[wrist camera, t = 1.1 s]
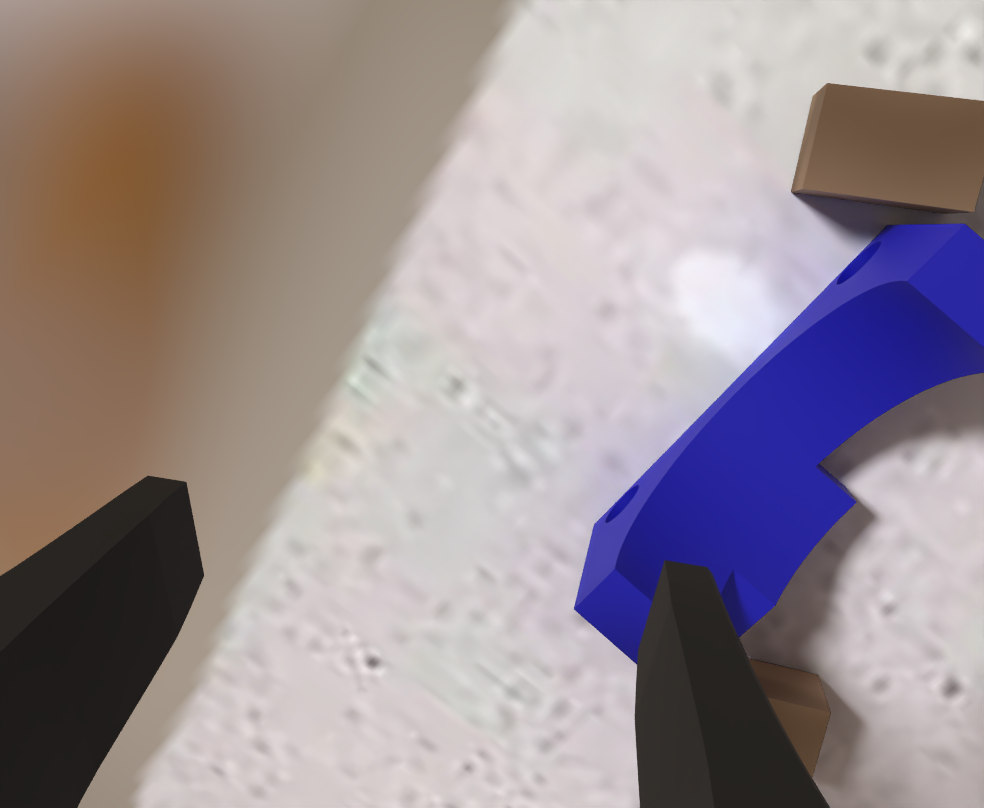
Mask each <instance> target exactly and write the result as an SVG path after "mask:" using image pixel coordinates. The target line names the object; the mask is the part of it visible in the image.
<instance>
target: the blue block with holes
mask: <svg viewBox="0 0 984 808" xmlns="http://www.w3.org/2000/svg"><path fill="white" fill-rule="evenodd" d="M978 373H984V240H983V239H982V238H981V237H980V236H979V235H977V234H976V233H975V232H974V231H973V230H972V229H970V228H969V227H968V226H967V225H966V224H915V225H887V226H886V227H885V228H884V229H883V230H882V231H881V232H880V233H879V234H878V235H877V236H876V237H875V238H874V239H873V240H872V241H871V243H870V244H869V245H868V246H867V247H866V248H865V249H864V250H863V251H862V252H861V253H860V254H859V255H858V256H857V257H856V258H855V259H854V260H853V261H852V262H851V263H850V264H849V265H848V266H847V267H846V268H845V269H844V270H843V271H842V272H841V273H840V274H839V275H838V276H837V277H836V278H835V279H834V280H833V281H832V282H831V283H830V284H829V285H828V286H827V287H826V288H825V289H824V291H823V292H822V293H821V294H820V295H819V296H818V297H817V298H816V299H815V300H814V301H813V302H812V303H811V304H810V305H809V306H808V307H807V308H806V309H805V310H804V311H803V312H802V313H801V314H800V315H799V316H798V317H797V318H796V319H795V320H794V321H793V322H792V323H791V324H790V325H789V326H788V327H787V328H786V329H785V330H784V331H783V332H782V333H781V334H780V335H779V336H778V337H777V338H776V340H775V341H774V342H773V343H772V344H771V345H770V346H769V347H768V348H767V349H766V350H765V351H764V352H763V353H762V354H761V355H760V356H759V357H758V358H757V359H756V360H755V361H754V362H753V363H752V364H751V365H750V366H749V367H748V368H747V369H746V370H745V371H744V372H743V373H742V374H741V375H740V376H739V377H738V378H737V379H736V380H735V381H734V382H733V383H732V384H731V385H730V386H729V388H728V389H727V390H726V391H725V392H724V393H723V394H722V395H721V396H720V397H719V398H718V399H717V400H716V401H715V402H714V403H713V404H712V405H711V406H710V407H709V408H708V409H707V410H706V411H705V412H704V413H703V414H702V415H701V416H700V417H699V418H698V419H697V420H696V421H695V422H694V423H693V424H692V425H691V426H690V427H689V428H688V429H687V430H686V431H685V432H684V433H683V434H682V436H681V437H680V438H679V439H678V440H677V441H676V442H675V443H674V444H673V445H672V446H671V447H670V448H669V449H668V450H667V451H666V452H665V453H664V454H663V455H662V456H661V457H660V458H659V459H658V460H657V461H656V462H655V463H654V464H653V465H652V466H651V467H650V468H649V469H648V470H647V471H646V472H645V473H644V474H643V475H642V476H641V477H640V478H639V479H638V480H637V481H636V482H635V484H634V485H633V486H632V487H631V488H630V489H629V490H628V491H627V492H626V493H625V494H624V495H623V496H622V497H621V498H620V499H619V500H618V501H617V502H616V503H615V504H614V505H613V506H612V507H611V508H610V509H609V510H608V511H607V512H606V513H605V514H604V515H603V516H602V517H601V518H600V519H599V520H598V521H597V522H596V523H595V524H594V527H593V531H592V536H591V540H590V544H589V548H588V552H587V556H586V561H585V565H584V569H583V573H582V577H581V581H580V586H579V590H578V594H577V598H576V602H575V606H574V610H575V611H577V612H578V613H579V614H580V615H581V616H582V617H583V618H585V619H586V620H587V621H588V622H589V623H590V624H591V625H593V626H594V627H595V628H596V629H597V630H598V631H599V632H600V633H602V634H603V635H604V636H605V637H606V638H607V639H608V640H610V641H611V642H612V643H613V644H614V645H615V646H616V647H618V648H619V649H620V650H621V651H622V652H623V653H624V654H625V655H627V656H628V657H629V658H630V659H631V660H632V661H633V662H635V663H636V664H637V661H638V649H639V645H640V642H641V638H642V635H643V632H644V628H645V625H646V621H647V618H648V615H649V611H650V608H651V604H652V601H653V598H654V594H655V591H656V587H657V584H658V581H659V577H660V574H661V570H662V567H663V564H664V560H668V561H674V562H680V563H686V564H692V565H698V566H704V567H708V569H709V570H710V571H711V572H712V574H713V576H714V579H715V581H716V584H717V587H718V589H719V592H720V594H721V597H722V600H723V602H724V604H725V607H726V609H727V612H728V614H729V616H730V619H731V621H732V624H733V626H734V628H735V630H736V633H737V635H738V637H740V636H741V635H742V634H744V633H745V632H746V631H747V630H748V629H749V628H750V627H752V626H753V625H754V624H755V623H756V622H757V621H758V620H759V619H761V618H762V617H763V616H764V615H765V614H766V613H767V612H768V611H770V610H771V609H772V608H773V607H774V606H775V605H776V603H777V601H778V599H779V598H780V596H781V594H782V592H783V590H784V589H785V587H786V585H787V584H788V582H789V581H790V579H791V578H792V576H793V574H794V573H795V572H796V570H797V569H798V567H799V566H800V565H801V563H802V562H803V560H804V559H805V558H806V557H807V555H808V554H809V553H810V551H811V550H812V549H813V548H814V546H815V545H816V544H817V543H818V542H819V541H820V539H821V538H822V537H823V536H824V535H825V534H826V533H827V531H828V530H829V529H830V528H831V527H832V526H833V525H834V524H835V523H836V522H837V521H838V520H839V519H840V518H841V517H842V516H843V515H844V514H845V513H846V512H847V511H848V510H849V509H850V508H851V507H852V506H853V505H854V504H855V503H857V502H856V501H855V499H854V498H853V496H852V495H851V494H850V492H849V491H848V489H847V488H846V487H845V486H844V485H843V484H842V483H840V482H839V481H838V480H837V479H836V478H835V477H833V476H832V475H831V474H830V473H829V472H828V471H827V470H825V469H824V468H823V467H822V466H821V465H820V464H819V463H820V462H821V461H822V460H823V459H824V458H825V457H827V456H828V455H829V454H830V453H831V452H832V451H834V450H835V449H836V448H837V447H838V446H840V445H841V444H842V443H843V442H844V441H846V440H847V439H848V438H849V437H851V436H852V435H853V434H855V433H856V432H857V431H859V430H860V429H861V428H863V427H864V426H865V425H867V424H868V423H870V422H871V421H873V420H874V419H876V418H877V417H878V416H880V415H882V414H883V413H885V412H886V411H888V410H890V409H891V408H893V407H894V406H896V405H898V404H900V403H901V402H903V401H905V400H907V399H908V398H910V397H912V396H914V395H916V394H918V393H920V392H922V391H924V390H927V389H929V388H931V387H934V386H936V385H938V384H941V383H944V382H947V381H949V380H952V379H956V378H959V377H963V376H967V375H972V374H978Z"/></svg>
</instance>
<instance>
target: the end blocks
mask: <svg viewBox="0 0 984 808" xmlns="http://www.w3.org/2000/svg"><path fill="white" fill-rule="evenodd" d="M983 178H984V101H979V100H970V99H962V98H953V97H944V96H935V95H926V94H918V93H909V92H900V91H891V90H883V89H874V88H865V87H856V86H847V85H839V84H830V83H827V84H826V85H825V86H824V87H823V88H821V89H820V90H819V91H818V92H817V93H816V94H815V95H814V96H813V98H812V102H811V107H810V111H809V115H808V120H807V124H806V128H805V133H804V137H803V142H802V146H801V150H800V155H799V159H798V163H797V168H796V172H795V176H794V181H793V185H792V190H791V192H793V193H800V194H807V195H814V196H822V197H829V198H836V199H843V200H851V201H858V202H865V203H872V204H880V205H887V206H894V207H902V208H909V209H916V210H923V211H931V212H938V213H945V214H949V213H967V212H974V210H975V206H976V203H977V199H978V196H979V192H980V189H981V185H982V182H983ZM749 661H750V663H751V665H752V667H753V669H754V672H755V674H756V676H757V678H758V680H759V681H760V683H761V685H762V687H763V689H764V691H765V693H766V695H767V697H768V699H769V701H770V703H771V705H772V707H773V709H774V711H775V713H776V715H777V717H778V719H779V721H780V722H781V724H782V726H783V728H784V730H785V732H786V734H787V735H788V737H789V739H790V741H791V743H792V744H793V746H794V748H795V750H796V751H797V753H798V755H799V757H800V758H801V760H802V762H803V764H804V765H805V767H806V769H807V771H808V772H809V774H810V776H811V777H813V773H814V770H815V766H816V763H817V759H818V756H819V752H820V749H821V745H822V742H823V738H824V735H825V731H826V728H827V724H828V721H829V717H830V714H831V712H830V709H829V706H828V703H827V700H826V697H825V694H824V691H823V688H822V685H821V682H820V679H819V676H818V675H816V674H812V673H807V672H803V671H799V670H795V669H791V668H786V667H782V666H778V665H774V664H770V663H765V662H761V661H757V660H753V659H749Z"/></svg>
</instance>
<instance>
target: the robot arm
mask: <svg viewBox="0 0 984 808" xmlns="http://www.w3.org/2000/svg"><path fill="white" fill-rule="evenodd" d="M203 577H204V572H203V567H202V562H201V557H200V551H199V546H198V541H197V536H196V530H195V525H194V520H193V515H192V509H191V505H190V499H189V494H188V488H187V483H186V482H183V481H177V480H171V479H165V478H159V477H152V476H147V477H145V478H144V479H142V480H141V481H139V482H138V483H136V484H135V485H133V486H132V487H130V488H129V489H127V490H126V491H124V492H123V493H122V494H120V495H119V496H117V497H116V498H114V499H113V500H112V501H110V502H109V503H107V504H106V505H104V506H103V507H102V508H100V509H99V510H97V511H96V512H95V513H93V514H92V515H90V516H89V517H87V518H86V519H84V520H83V521H82V522H80V523H79V524H77V525H76V526H74V527H73V528H72V529H70V530H69V531H67V532H66V533H64V534H63V535H61V536H60V537H58V538H57V539H55V540H54V541H53V542H51V543H49V544H48V545H47V546H45V547H44V548H42V549H41V550H39V551H38V552H36V553H35V554H33V555H32V556H30V557H29V558H27V559H26V560H25V561H23V562H21V563H20V564H18V565H17V566H15V567H14V568H12V569H11V570H9V571H8V572H6V573H5V574H3V575H2V576H0V808H77V807H78V805H79V803H80V801H81V799H82V797H83V795H84V794H85V792H86V790H87V788H88V787H89V785H90V783H91V781H92V779H93V777H94V776H95V774H96V772H97V770H98V768H99V767H100V765H101V763H102V762H103V760H104V759H105V757H106V755H107V754H108V752H109V750H110V748H111V747H112V745H113V744H114V742H115V740H116V739H117V737H118V735H119V734H120V732H121V730H122V729H123V727H124V725H125V724H126V722H127V720H128V719H129V717H130V715H131V714H132V712H133V710H134V709H135V707H136V705H137V704H138V702H139V700H140V699H141V697H142V695H143V694H144V692H145V691H146V689H147V687H148V686H149V684H150V682H151V681H152V679H153V677H154V675H155V674H156V672H157V670H158V669H159V667H160V665H161V664H162V662H163V660H164V659H165V657H166V655H167V654H168V652H169V650H170V648H171V647H172V645H173V643H174V642H175V640H176V638H177V636H178V634H179V632H180V630H181V628H182V625H183V623H184V621H185V619H186V617H187V614H188V612H189V610H190V608H191V605H192V603H193V601H194V598H195V596H196V594H197V591H198V589H199V586H200V584H201V581H202V579H203ZM635 730H636V748H637V765H638V781H639V797H640V808H830V807H829V805H828V804H827V802H826V800H825V799H824V797H823V796H822V794H821V792H820V791H819V789H818V787H817V786H816V784H815V782H814V781H813V779H812V777H811V776H810V774H809V772H808V771H807V769H806V767H805V765H804V764H803V762H802V760H801V758H800V757H799V755H798V753H797V751H796V750H795V748H794V746H793V744H792V743H791V741H790V739H789V737H788V735H787V734H786V732H785V730H784V728H783V726H782V724H781V722H780V721H779V719H778V717H777V715H776V713H775V711H774V709H773V707H772V705H771V703H770V701H769V699H768V697H767V695H766V693H765V691H764V689H763V687H762V685H761V683H760V681H759V680H758V678H757V676H756V674H755V672H754V669H753V667H752V665H751V663H750V661H749V659H748V657H747V655H746V653H745V650H744V648H743V646H742V644H741V642H740V639H739V637H738V635H737V633H736V630H735V628H734V626H733V624H732V621H731V619H730V616H729V614H728V612H727V609H726V607H725V604H724V602H723V600H722V597H721V594H720V592H719V589H718V587H717V584H716V581H715V579H714V576H713V574H712V572H711V571H710V570H709V569H708V567H704V566H698V565H692V564H686V563H680V562H674V561H668V560H664V564H663V567H662V570H661V574H660V577H659V581H658V584H657V587H656V591H655V594H654V598H653V601H652V604H651V608H650V611H649V615H648V618H647V621H646V625H645V628H644V632H643V635H642V638H641V642H640V645H639V649H638V661H637V679H636V701H635Z"/></svg>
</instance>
